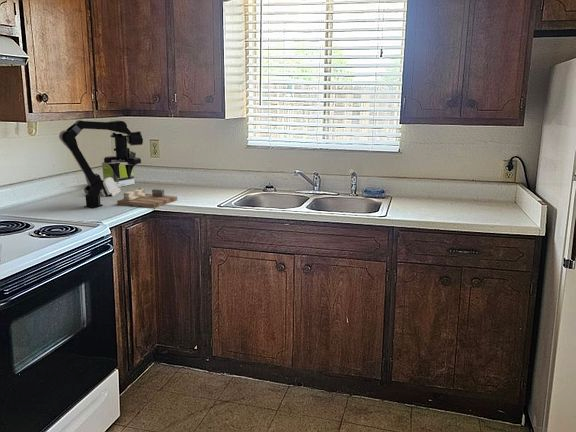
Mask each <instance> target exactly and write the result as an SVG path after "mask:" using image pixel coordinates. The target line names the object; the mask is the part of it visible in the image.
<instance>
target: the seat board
mask: <svg viewBox="0 0 576 432" xmlns="http://www.w3.org/2000/svg"><path fill="white" fill-rule="evenodd" d="M176 201H178V196H175V195H165V190H164V189H157V188H153V189H151V193H145V196H143V197H140V198H136V199H133V200H130V201H127V200H124V198H121V199H117V200H116V202H117V204H119V206H127V205H135V206H134V207H138V206H143V207H142V208H149V209H155V208H158V207H161V206H162V207H163V206H164V205H167V203H168V204H170V203H174V202H176Z"/></svg>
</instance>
